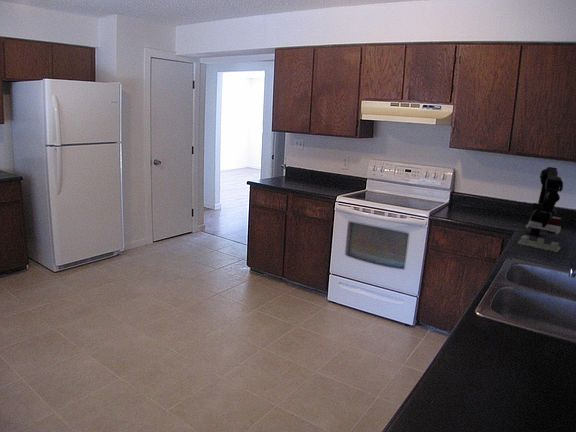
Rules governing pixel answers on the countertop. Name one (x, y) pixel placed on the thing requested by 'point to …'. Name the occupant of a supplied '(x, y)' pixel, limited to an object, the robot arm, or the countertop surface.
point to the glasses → (547, 227)
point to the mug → (554, 222)
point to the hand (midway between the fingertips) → (543, 227)
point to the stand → (539, 244)
